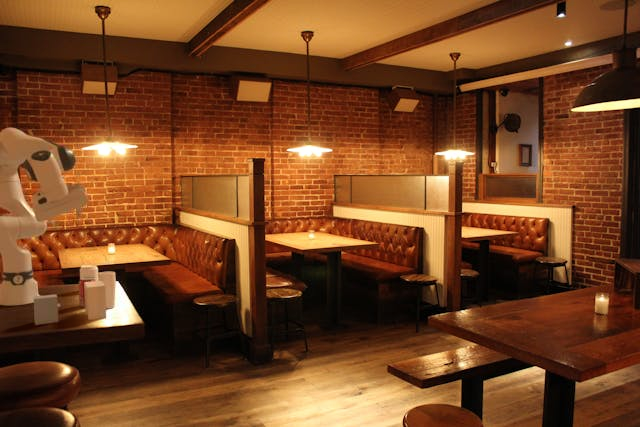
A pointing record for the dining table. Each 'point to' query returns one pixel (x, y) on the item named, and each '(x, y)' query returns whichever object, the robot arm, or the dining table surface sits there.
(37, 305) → the charger
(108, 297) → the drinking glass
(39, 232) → the robot arm
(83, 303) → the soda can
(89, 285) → the socket block
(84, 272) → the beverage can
